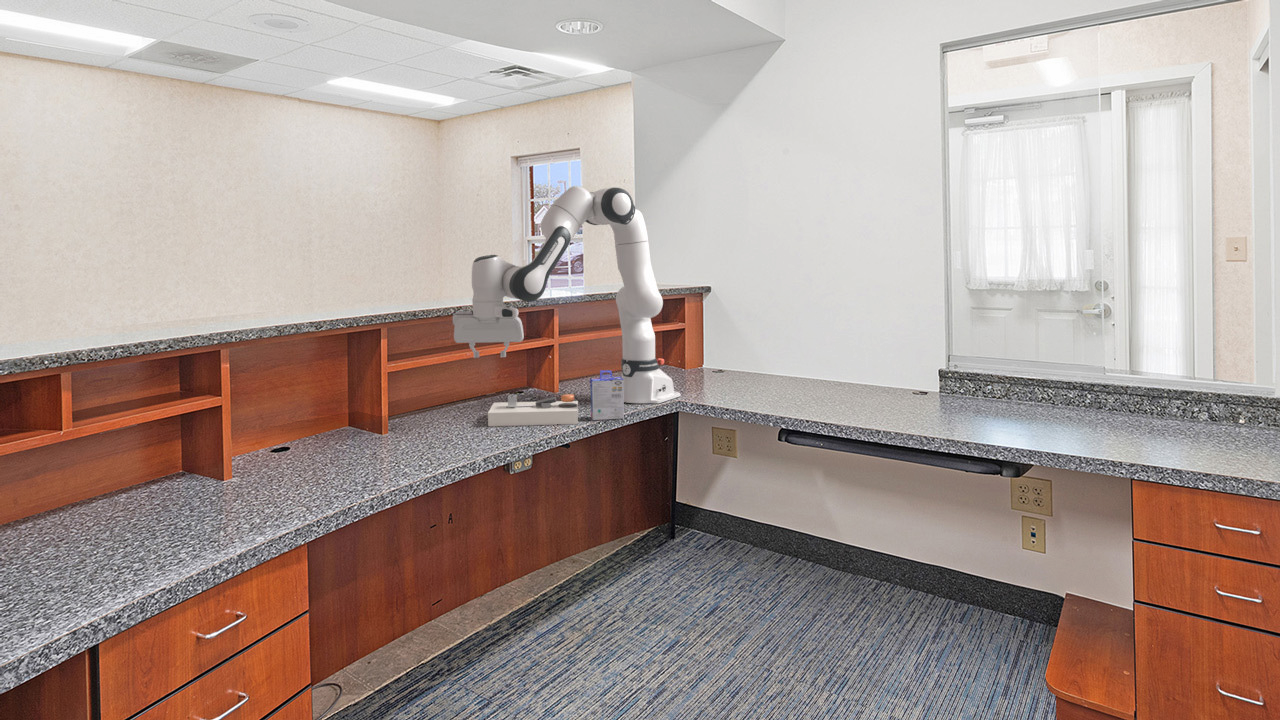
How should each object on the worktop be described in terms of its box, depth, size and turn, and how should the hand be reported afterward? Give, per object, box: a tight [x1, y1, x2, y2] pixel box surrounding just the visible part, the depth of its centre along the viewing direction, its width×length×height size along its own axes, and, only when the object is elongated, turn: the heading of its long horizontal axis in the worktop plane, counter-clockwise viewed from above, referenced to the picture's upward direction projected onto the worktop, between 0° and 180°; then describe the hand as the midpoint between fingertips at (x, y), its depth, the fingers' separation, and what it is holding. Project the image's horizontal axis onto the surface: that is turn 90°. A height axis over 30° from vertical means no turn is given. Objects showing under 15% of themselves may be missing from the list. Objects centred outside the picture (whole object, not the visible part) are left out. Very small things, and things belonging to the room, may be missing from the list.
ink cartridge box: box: [589, 369, 625, 421], centre depth 219 cm, size 10×6×14 cm, turn 102°
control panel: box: [487, 400, 579, 427], centre depth 218 cm, size 26×14×6 cm, turn 94°
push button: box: [560, 393, 575, 402], centre depth 218 cm, size 4×4×2 cm
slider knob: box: [507, 393, 518, 407], centre depth 217 cm, size 2×4×3 cm, turn 4°
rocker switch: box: [535, 396, 557, 407], centre depth 218 cm, size 6×4×1 cm, turn 93°
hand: (489, 357), depth 214 cm, fingers open, 6 cm apart
